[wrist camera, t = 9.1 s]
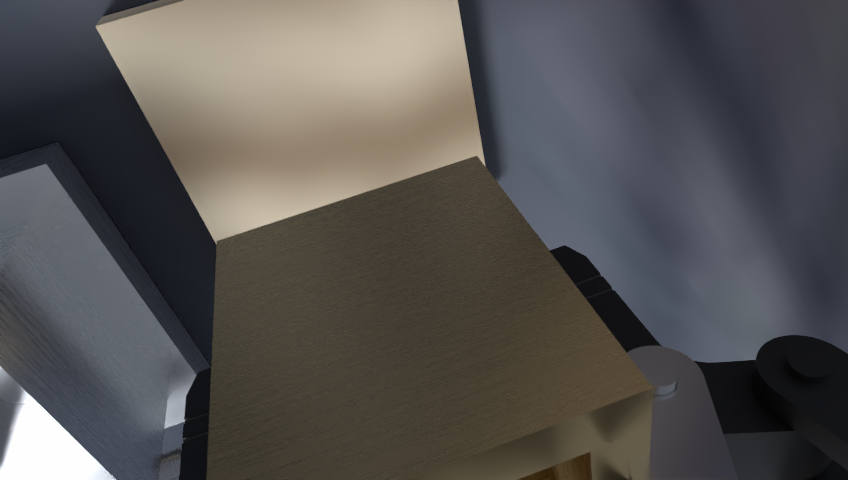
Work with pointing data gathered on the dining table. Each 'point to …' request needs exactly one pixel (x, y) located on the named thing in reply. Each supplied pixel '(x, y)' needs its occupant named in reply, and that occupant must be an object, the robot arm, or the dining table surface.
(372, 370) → the collar
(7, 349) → the block
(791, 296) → the dining table surface
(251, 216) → the beige pad
